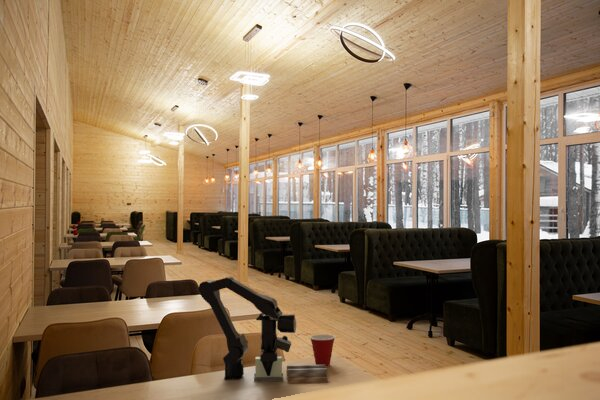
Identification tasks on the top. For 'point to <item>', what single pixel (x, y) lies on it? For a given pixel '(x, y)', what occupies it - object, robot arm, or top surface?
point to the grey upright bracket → (268, 378)
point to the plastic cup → (322, 348)
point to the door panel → (275, 370)
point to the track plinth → (306, 373)
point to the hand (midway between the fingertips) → (268, 373)
